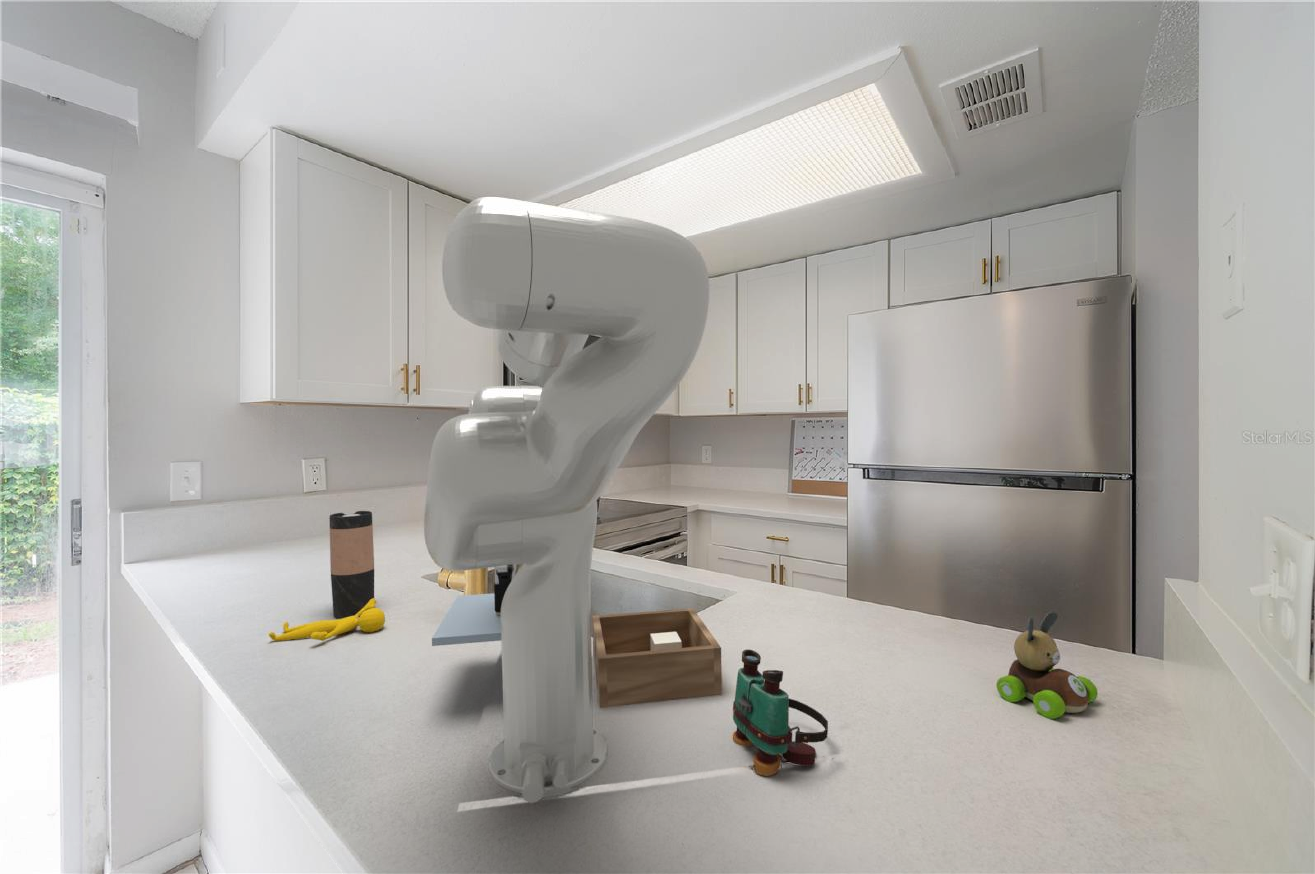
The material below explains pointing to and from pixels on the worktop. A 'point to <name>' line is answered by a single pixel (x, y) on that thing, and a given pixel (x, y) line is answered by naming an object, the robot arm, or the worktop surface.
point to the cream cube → (665, 641)
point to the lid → (470, 621)
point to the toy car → (1044, 675)
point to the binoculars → (770, 719)
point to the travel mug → (351, 562)
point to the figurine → (335, 625)
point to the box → (654, 658)
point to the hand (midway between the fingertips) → (508, 605)
